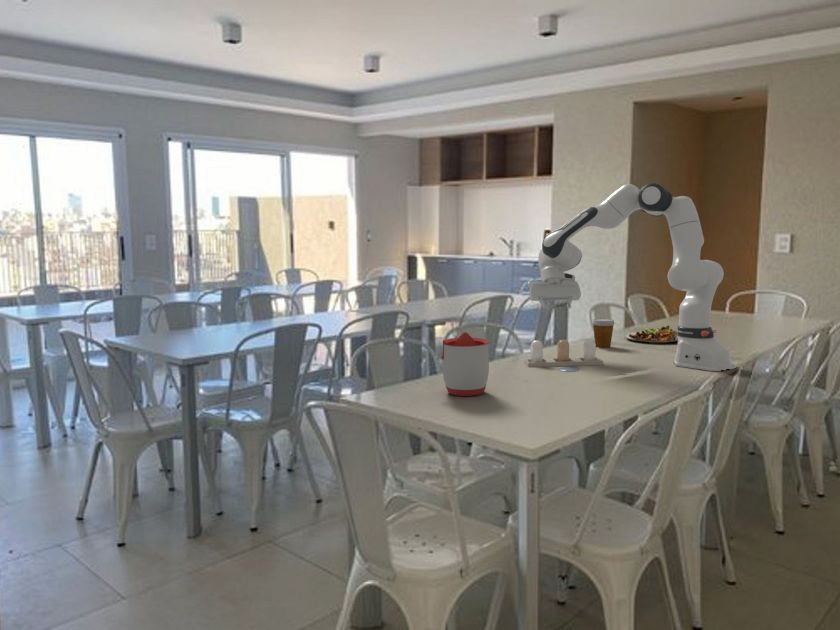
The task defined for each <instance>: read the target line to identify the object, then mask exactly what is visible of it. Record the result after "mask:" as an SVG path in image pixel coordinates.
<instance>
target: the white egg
mask: <svg viewBox="0 0 840 630" xmlns="http://www.w3.org/2000/svg"><path fill="white" fill-rule="evenodd" d="M543 348H544V345H543V342H542V341H541V340H533V341H532V342H531V344H530V359H531V362H543V359H544V356H543V355H544V349H543Z"/></svg>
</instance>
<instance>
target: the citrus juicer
mask: <svg viewBox="0 0 840 630" xmlns="http://www.w3.org/2000/svg"><path fill="white" fill-rule="evenodd" d="M489 345H490V340H489V339H486V338H481V337H472V336H471V334H469V333H468V332H466V331H464V332H463V333H462V334H460V335H459V337H455V338H454V337H453V338H452V337H451V338H446V339H443V340H442V350H440V351H438V352H437V354H436V356H435V359H440V358H441V360H442V361H441V362H442V363H441V367H442V369H441V370H442V375H443V376H442V377H443V381H444V384H445V389H446V391H447V392H448V394H450V395H453V396H454V395H459V396H458V397H460V396H461V397H467V396H470V397H471V396H473V395H478V396H480V395H481V394H483V393H484V392H485V391H486V390H485V389H486V387H487V383H488V378H489V374H490V373H489V371H490V370H489V369H490V368H489V367H490V351H489V349H490V347H489Z"/></svg>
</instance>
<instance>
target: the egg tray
mask: <svg viewBox="0 0 840 630" xmlns="http://www.w3.org/2000/svg"><path fill="white" fill-rule="evenodd" d="M523 365H525V366H526V367H527V368H537V367H573V366H575V367H576V366H578V367H579V366H604V365H605V364H604V360H603V359H601V358H599V357H598V356H597V357H596V356H595V361H583V357H569V361H566V362H557V357H555V358H552V357H551V358H543V362H531V358H524V361H523Z"/></svg>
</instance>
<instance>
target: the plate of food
mask: <svg viewBox="0 0 840 630" xmlns="http://www.w3.org/2000/svg"><path fill="white" fill-rule="evenodd" d="M643 329H644V330H641V331H633V332H628V333H626V334H624V337H625V338H627V339H629V340H632V341H638V342H644V343H647V342H649V344H667V343H672V342H678V340H677V339H678V335H677V331H675V330H673V328H670V325H665V326H661V327H660V328H658V327H656V328H647V327H643Z"/></svg>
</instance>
